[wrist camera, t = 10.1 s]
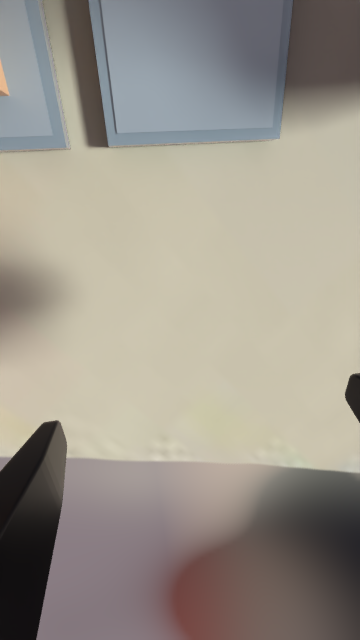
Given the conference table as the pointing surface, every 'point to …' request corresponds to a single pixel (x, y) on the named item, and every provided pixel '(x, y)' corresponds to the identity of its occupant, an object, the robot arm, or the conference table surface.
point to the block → (3, 83)
